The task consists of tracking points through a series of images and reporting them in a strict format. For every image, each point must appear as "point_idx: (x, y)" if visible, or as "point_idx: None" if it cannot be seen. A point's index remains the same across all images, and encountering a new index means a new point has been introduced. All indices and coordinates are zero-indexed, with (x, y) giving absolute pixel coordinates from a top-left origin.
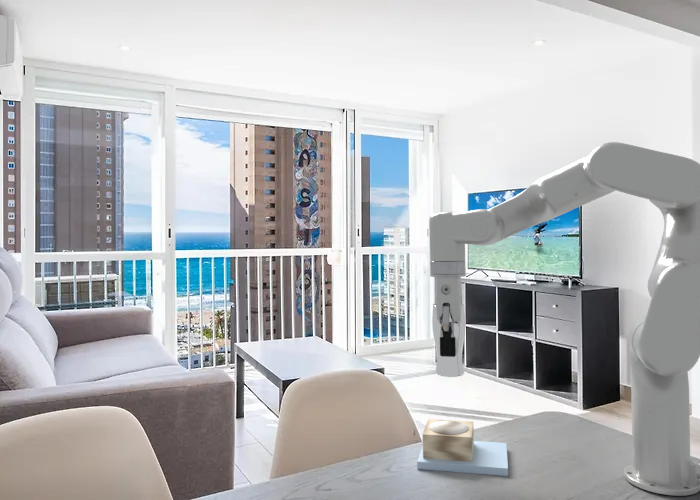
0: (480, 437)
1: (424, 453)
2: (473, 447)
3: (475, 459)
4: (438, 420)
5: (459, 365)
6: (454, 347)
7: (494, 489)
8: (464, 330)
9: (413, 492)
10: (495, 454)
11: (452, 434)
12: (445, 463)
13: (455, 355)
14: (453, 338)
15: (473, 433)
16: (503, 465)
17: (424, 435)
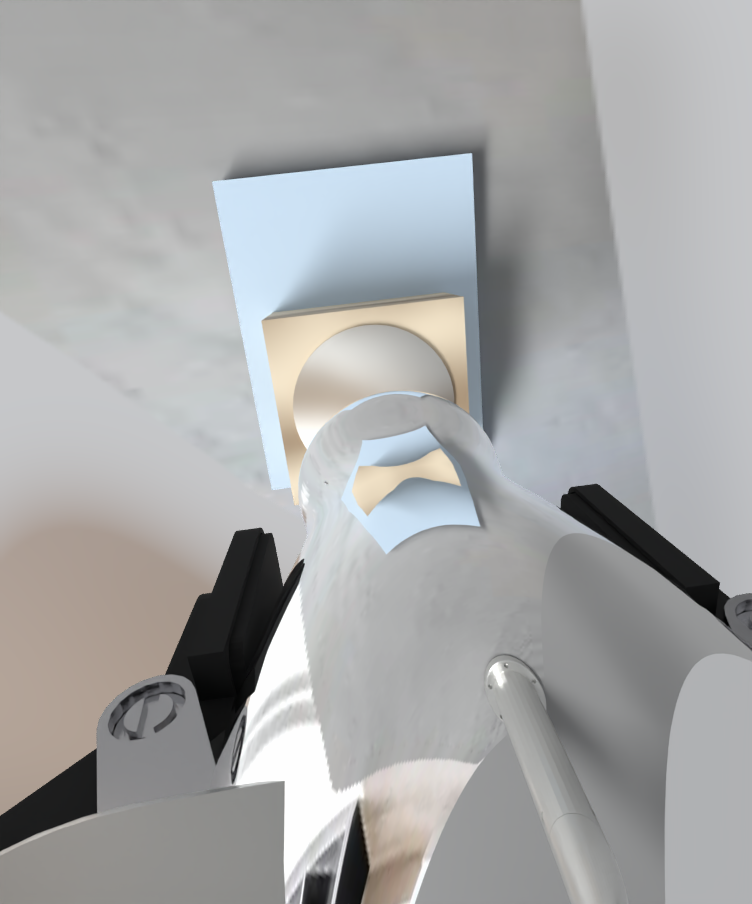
0: (123, 307)
1: None
2: (309, 308)
3: (420, 283)
4: (296, 464)
5: (463, 433)
6: (640, 527)
7: (574, 197)
8: (550, 538)
9: (629, 424)
10: (352, 214)
11: (448, 376)
12: (478, 376)
13: (596, 484)
14: (711, 596)
15: (273, 315)
16: (449, 172)
17: None
